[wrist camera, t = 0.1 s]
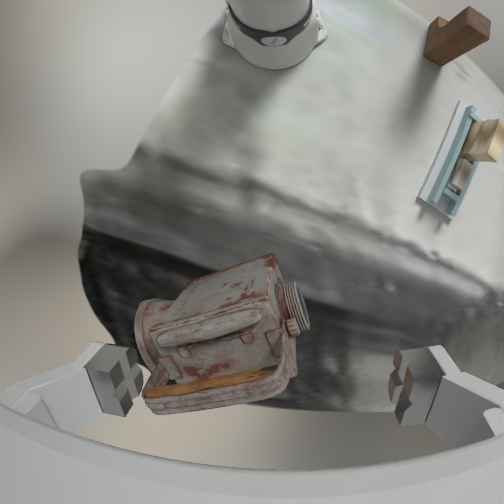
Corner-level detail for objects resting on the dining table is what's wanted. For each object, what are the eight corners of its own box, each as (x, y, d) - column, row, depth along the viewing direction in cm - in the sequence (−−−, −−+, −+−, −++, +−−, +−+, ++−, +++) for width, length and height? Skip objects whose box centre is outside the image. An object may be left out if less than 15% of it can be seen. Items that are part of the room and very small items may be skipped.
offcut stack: (451, 191, 50) (461, 193, 46) (442, 185, 50) (452, 187, 46) (462, 164, 48) (473, 165, 44) (454, 158, 48) (465, 158, 44)
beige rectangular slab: (465, 160, 48) (497, 162, 37) (456, 153, 48) (487, 153, 37) (476, 131, 46) (508, 127, 35) (467, 123, 46) (499, 118, 35)
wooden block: (430, 23, 42) (470, -14, 24) (448, 33, 42) (492, 2, 24) (422, 56, 44) (466, 24, 27) (442, 67, 44) (490, 40, 27)
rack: (451, 219, 52) (460, 223, 48) (417, 196, 52) (425, 199, 48) (489, 126, 46) (500, 125, 42) (458, 100, 46) (468, 97, 42)
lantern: (158, 284, 62) (76, 368, 33) (287, 241, 57) (285, 319, 28) (190, 349, 66) (137, 451, 37) (313, 316, 60) (326, 429, 32)
